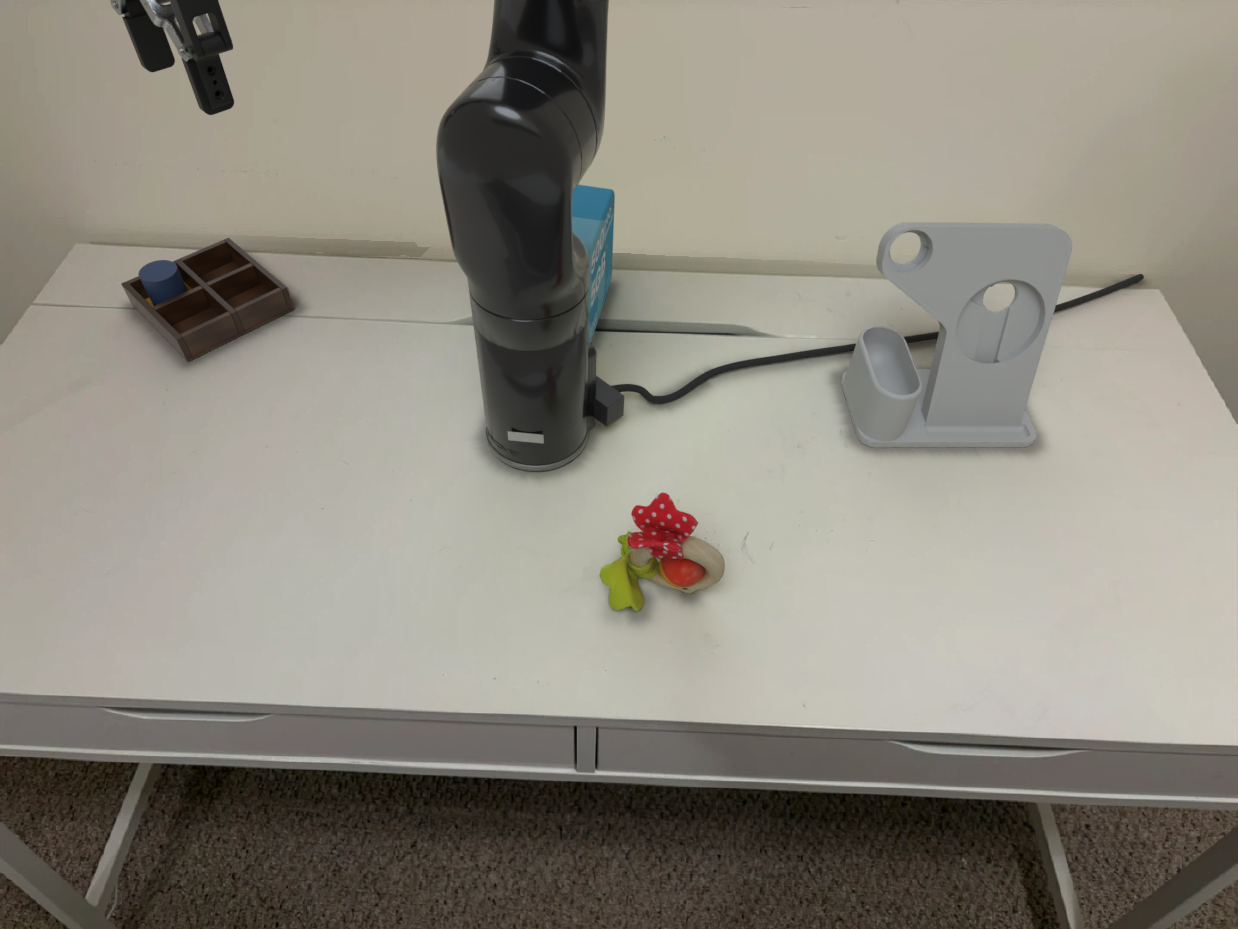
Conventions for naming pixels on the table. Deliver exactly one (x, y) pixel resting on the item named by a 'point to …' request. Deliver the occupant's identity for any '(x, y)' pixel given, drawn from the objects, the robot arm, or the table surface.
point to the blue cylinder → (162, 281)
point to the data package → (595, 242)
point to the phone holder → (960, 338)
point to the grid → (213, 300)
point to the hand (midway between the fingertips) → (188, 88)
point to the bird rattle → (661, 555)
